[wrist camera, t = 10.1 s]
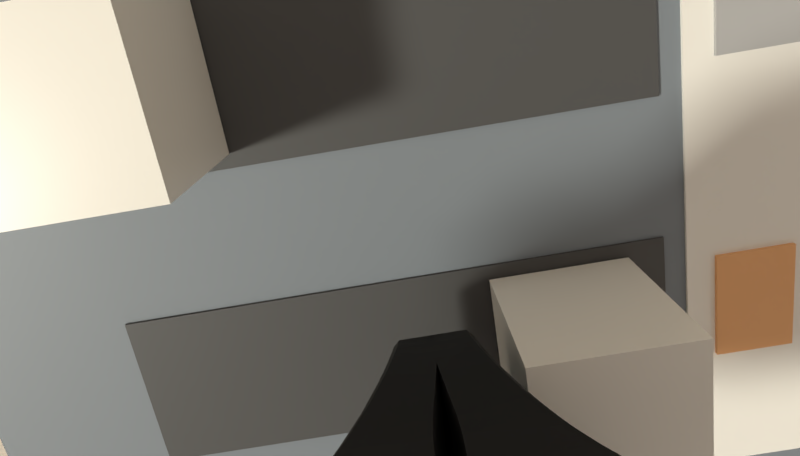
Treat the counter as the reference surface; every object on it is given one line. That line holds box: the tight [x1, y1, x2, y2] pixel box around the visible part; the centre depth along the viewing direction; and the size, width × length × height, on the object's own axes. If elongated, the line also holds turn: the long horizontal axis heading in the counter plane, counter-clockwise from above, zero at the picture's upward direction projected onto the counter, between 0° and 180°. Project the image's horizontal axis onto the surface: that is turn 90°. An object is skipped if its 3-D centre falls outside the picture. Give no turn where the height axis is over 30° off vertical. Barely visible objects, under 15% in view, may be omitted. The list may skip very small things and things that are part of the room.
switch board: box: [0, 0, 800, 456], centre depth 11 cm, size 19×16×2 cm
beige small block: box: [489, 257, 714, 456], centre depth 10 cm, size 2×2×3 cm
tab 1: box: [0, 0, 229, 233], centre depth 9 cm, size 2×2×3 cm
